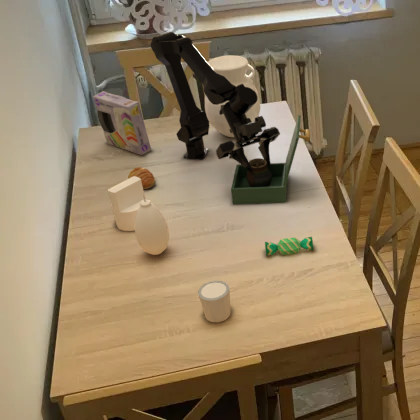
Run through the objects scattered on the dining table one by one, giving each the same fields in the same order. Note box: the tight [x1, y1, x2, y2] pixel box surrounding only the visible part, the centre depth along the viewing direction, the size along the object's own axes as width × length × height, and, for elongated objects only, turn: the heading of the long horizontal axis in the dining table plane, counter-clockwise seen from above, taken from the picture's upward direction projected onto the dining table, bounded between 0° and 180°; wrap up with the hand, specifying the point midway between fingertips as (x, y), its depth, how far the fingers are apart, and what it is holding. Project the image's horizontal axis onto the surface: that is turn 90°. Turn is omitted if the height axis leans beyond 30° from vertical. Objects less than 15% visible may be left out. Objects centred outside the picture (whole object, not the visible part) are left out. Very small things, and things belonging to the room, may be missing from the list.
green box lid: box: [283, 114, 311, 186], centre depth 187 cm, size 16×15×4 cm
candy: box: [264, 236, 314, 257], centre depth 167 cm, size 12×3×4 cm
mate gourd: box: [247, 157, 272, 187], centre depth 190 cm, size 7×8×10 cm
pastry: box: [127, 166, 157, 190], centre depth 197 cm, size 9×7×4 cm
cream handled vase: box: [204, 54, 261, 138], centre depth 221 cm, size 19×18×25 cm
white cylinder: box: [197, 280, 232, 323], centre depth 146 cm, size 7×7×7 cm
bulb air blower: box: [134, 192, 170, 256], centre depth 163 cm, size 8×8×18 cm
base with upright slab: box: [107, 176, 145, 232], centre depth 177 cm, size 9×9×12 cm
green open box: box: [230, 162, 289, 205], centre depth 192 cm, size 15×15×5 cm
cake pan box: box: [92, 90, 152, 156], centre depth 214 cm, size 19×5×18 cm, turn 55°
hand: (260, 168), depth 188 cm, fingers closed on mate gourd, 5 cm apart
